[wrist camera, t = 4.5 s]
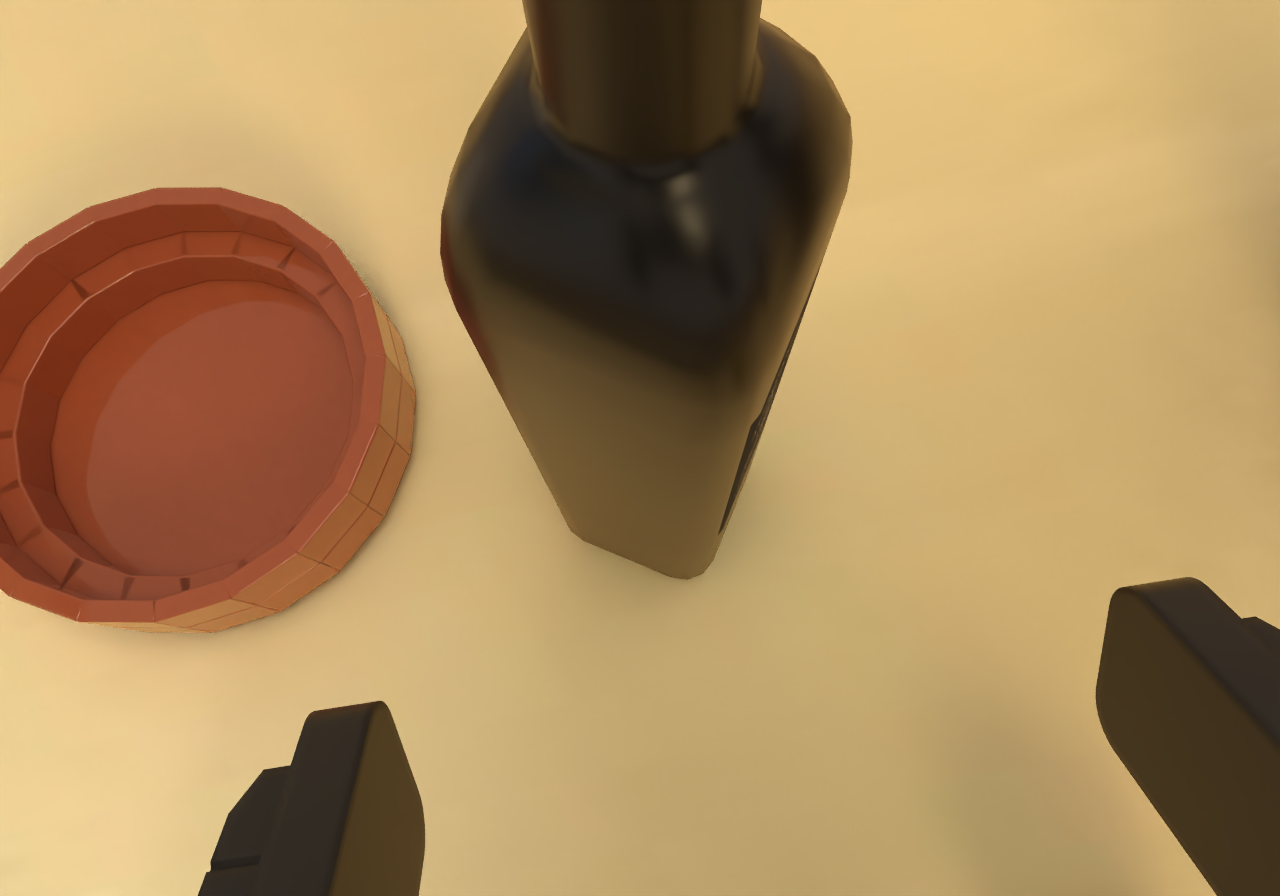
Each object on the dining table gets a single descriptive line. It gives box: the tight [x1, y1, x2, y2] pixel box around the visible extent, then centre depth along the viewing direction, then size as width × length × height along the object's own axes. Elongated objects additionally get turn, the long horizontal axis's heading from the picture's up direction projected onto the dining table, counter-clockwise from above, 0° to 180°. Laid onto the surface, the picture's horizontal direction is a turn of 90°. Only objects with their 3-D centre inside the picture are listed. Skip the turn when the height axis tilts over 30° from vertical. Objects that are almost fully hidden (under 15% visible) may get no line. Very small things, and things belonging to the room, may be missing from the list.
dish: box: [0, 188, 416, 633], centre depth 32 cm, size 15×15×4 cm
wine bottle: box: [440, 0, 852, 579], centre depth 19 cm, size 6×6×30 cm
